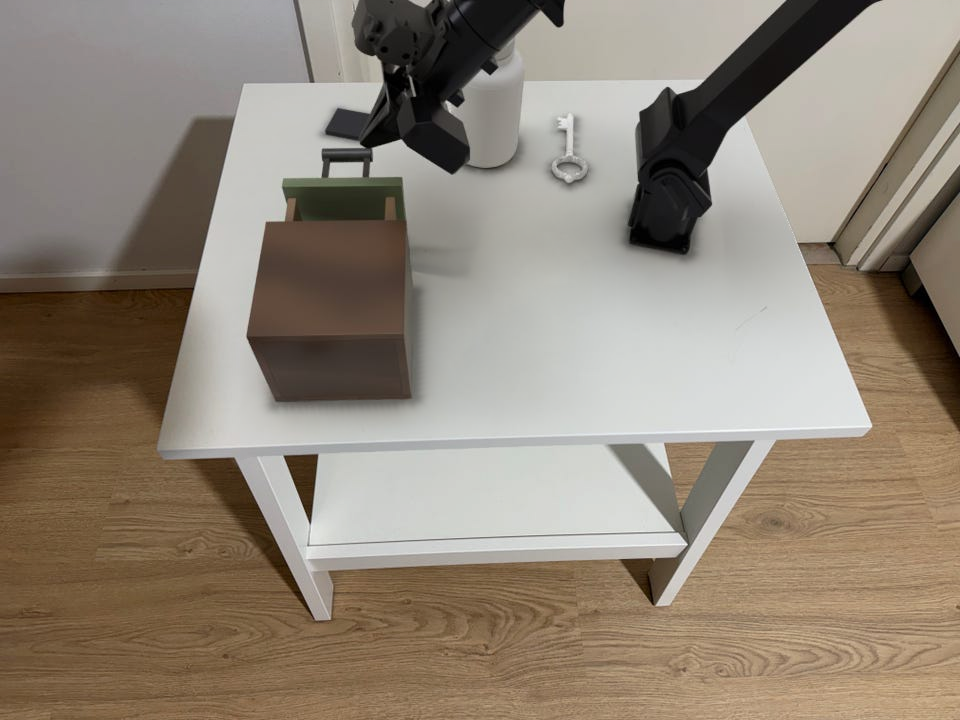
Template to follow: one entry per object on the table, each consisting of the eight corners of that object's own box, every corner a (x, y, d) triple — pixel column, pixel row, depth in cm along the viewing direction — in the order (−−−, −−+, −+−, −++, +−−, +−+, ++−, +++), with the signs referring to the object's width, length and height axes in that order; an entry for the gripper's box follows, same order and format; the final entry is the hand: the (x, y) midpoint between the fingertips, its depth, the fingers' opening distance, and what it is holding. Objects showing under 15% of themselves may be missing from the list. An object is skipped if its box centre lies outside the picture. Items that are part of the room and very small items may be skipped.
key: (550, 183, 81) (587, 185, 81) (551, 177, 80) (588, 179, 80) (553, 116, 88) (587, 118, 88) (554, 110, 87) (588, 112, 87)
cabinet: (290, 294, 72) (265, 221, 63) (413, 292, 72) (406, 219, 63) (275, 401, 65) (245, 336, 56) (411, 398, 66) (403, 333, 57)
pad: (371, 117, 87) (371, 113, 87) (360, 140, 85) (359, 136, 84) (338, 111, 88) (337, 107, 87) (325, 134, 85) (324, 130, 85)
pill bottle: (512, 174, 82) (521, 59, 70) (445, 164, 83) (441, 48, 70) (523, 130, 86) (533, 14, 74) (459, 121, 87) (458, 4, 74)
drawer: (305, 205, 78) (288, 141, 70) (409, 204, 78) (403, 140, 71) (288, 329, 68) (267, 270, 61) (406, 326, 69) (399, 268, 62)
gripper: (390, -100, 58) (284, 37, 66) (424, 30, 48) (295, 173, 56) (481, -15, 66) (376, 99, 74) (527, 113, 56) (401, 228, 64)
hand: (363, 144), depth 67 cm, fingers closed
